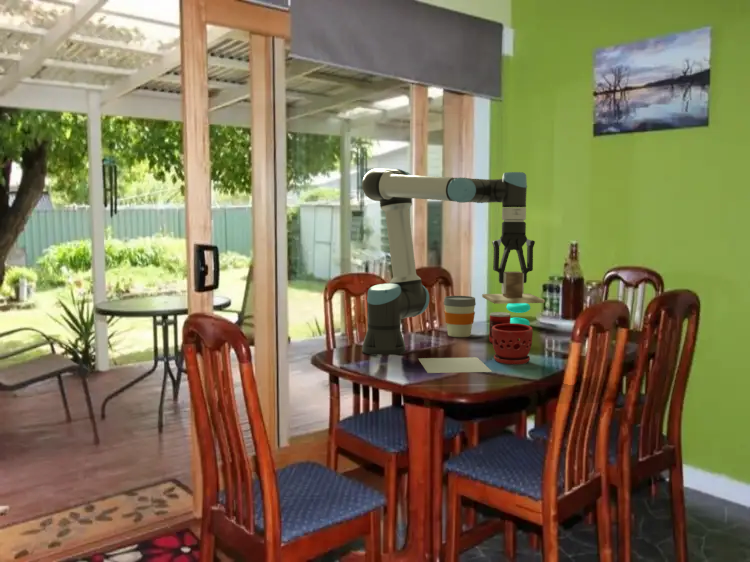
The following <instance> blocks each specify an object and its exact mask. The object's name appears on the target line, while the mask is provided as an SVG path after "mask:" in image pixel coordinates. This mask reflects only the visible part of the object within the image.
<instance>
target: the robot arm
mask: <svg viewBox="0 0 750 562" xmlns="http://www.w3.org/2000/svg"><path fill="white" fill-rule="evenodd" d="M362 178H363V179H362V182H361V188H362V191H363V193H364V195H365V196H366V197H367V198H368V199H370V200H372V201H376V202H379V207H380V209H381V210H382V211H383V212H384V213H385V221H386V229H387V237H388V245H389V252H390V260H391V261H390V262H391V270H392V278H391V280H390V281H389V282H388V283H387V282H386V283H378V284H375V285H372V286H371V287H370V288H368V290H367V297H366V303H367V306H366V307H367V308H366V309H367V315H366V316H367V327H366V328H367V330H366V333H365V336H364V338H363V339H364V340H363V343H362V348H361V349H362V353H363V354H367V355H371V356H379V355H380V356H388V355H389V356H392V355H400V354H403V353H405V352H406V343H405V340H404V337H403V334H402V329H401V325H402V324H401V321H402V320H403V319H406V318H415V317H417V316H420V315H422V314H423V313H424V312H425V311H426V310H427V308H428V307H429V303H430V293H429V290H428V289H427V288H426V286H424V285H423V283H422V278H421V277H420V276H419V275H418V274H417V269H416V262H415V253H414V251H415V250H414V244H413V236H412V228H411V226H412V225H411V218H410V210H409V209H410V208H411V206H412V205H413V201H412V200H413V199H419V200H433V201H443V202H445V201H446V202H457V203H459V204H460V203H477V204H484V203H485V204H487V203H488V204H489V203H490V204H492V203H501V206H502V207H501V211H502V212H501V219H502V222H501V236H500V238H499V239H497V240H492V241H491V243H492V246H493V264H492V265H493V266H492V267H493V268H492V269H493V271H494V272H497V273H498V282H499V284H501V294H506V273H504V272H506V266H507V263H508V259H509V256H510V252H511V251H516V253H517V257H518V262H519V266H520V270H521V271H520V272H522V273H523V288H522V294H525V293H524V290H525V287H524V284H526V283H527V280H528V278H527V277H528V273H529V272H532V271H534V247H535V244H536V241H535V240H532V239H529V238H528V237H527V234H526V231H527V227H526V226H527V223H526V220H527V191H528V190H527V189H528V184H527V183H528V182H527V180H528V179H527V174H526V173H525V172H520V171H509V172H508V171H507V172H503V174H502V178H498V179H496V178H493V179H492V178H491V179H485V178H484V179H483V178H470V177H462V176H461V177H450V176H431V175H429V176H428V175H412V174H411V173H410V172H409V171H406V170H402V169H399V168H380V167H379V168H378V167H377V168H376V167H375V168H373V169H370V170H369V171H367V172H366V173H365V175H364V177H362ZM501 244H502V245H503V253H502V258H501V261H500V246H501ZM525 244H526V259H525V256H524V248H523V247H524V245H525Z"/></svg>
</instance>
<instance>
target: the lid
mask: <svg viewBox="0 0 750 562" xmlns="http://www.w3.org/2000/svg"><path fill="white" fill-rule="evenodd" d="M504 273H506V294H503V293H483V294H482V295H481V297H482V298H483V299H486V300H487V301H488V302H491V303H492V304H499V305H500V304H501V305H502V304H503V305H504V304H508V303H527V304H545V302H546V300H545V299H544V298H541V297H539V296H536V295H534V294H531V293H523V294H522V288H523V273H522V271H504Z"/></svg>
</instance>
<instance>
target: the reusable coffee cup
mask: <svg viewBox="0 0 750 562" xmlns="http://www.w3.org/2000/svg"><path fill="white" fill-rule="evenodd" d="M476 304H477V303H476V297H474V296H469V295H448V296H444V300H443V306H444V311H443V312H444V318H445V319H444V320H445V321H444V322H445V323H446V329H447V331H446V332H447V335H448V336H449V337H452V338H453V337H454V338H468V337H470V336H471V335H472V329H473V328H472V327H473V324H474V322H475V320H474V319H475V316H476V315H475V314H476V311H475V307H476Z"/></svg>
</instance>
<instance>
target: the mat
mask: <svg viewBox="0 0 750 562" xmlns="http://www.w3.org/2000/svg"><path fill="white" fill-rule="evenodd" d="M417 359H418V361H419V362H420V363H421V365H422V367H423V368H424V370H425V372H427V374H443V373H444V374H445V373H447V374H448V373H449V374H452V373H453V374H454V373H492V372H493V371H492V370H491V369H490V368H489V367H488V366H487V365H486V364H485V363H484V362H483V361H482V360H480V359H479V358H478V357H477V356H476V357H475V356H474V357H427V358H426V357H424V358H423V357H422V358H421V357H420V358H417Z"/></svg>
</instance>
